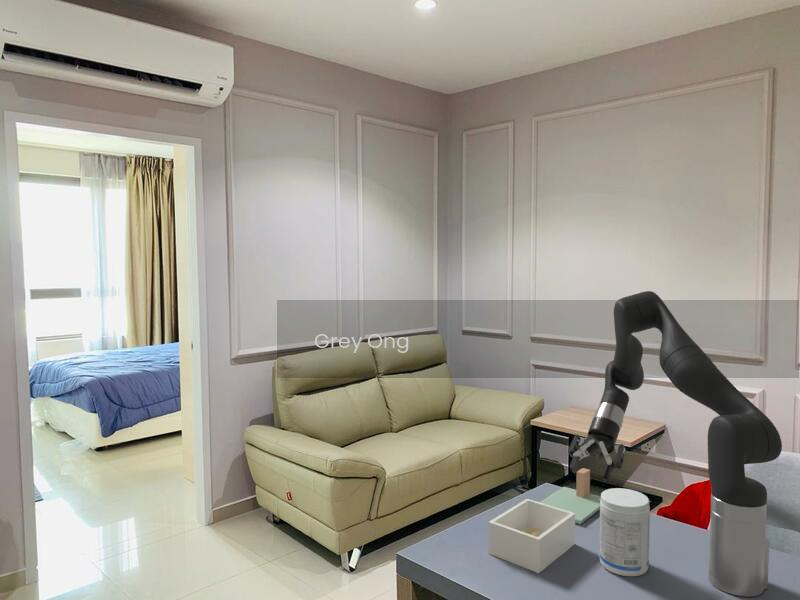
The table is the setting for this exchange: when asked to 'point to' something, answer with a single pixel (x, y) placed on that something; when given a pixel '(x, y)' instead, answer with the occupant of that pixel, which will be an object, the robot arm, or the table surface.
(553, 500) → the lid
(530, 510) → the parts tub
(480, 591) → the table surface
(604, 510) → the supplement tub
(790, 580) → the table surface
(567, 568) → the table surface
